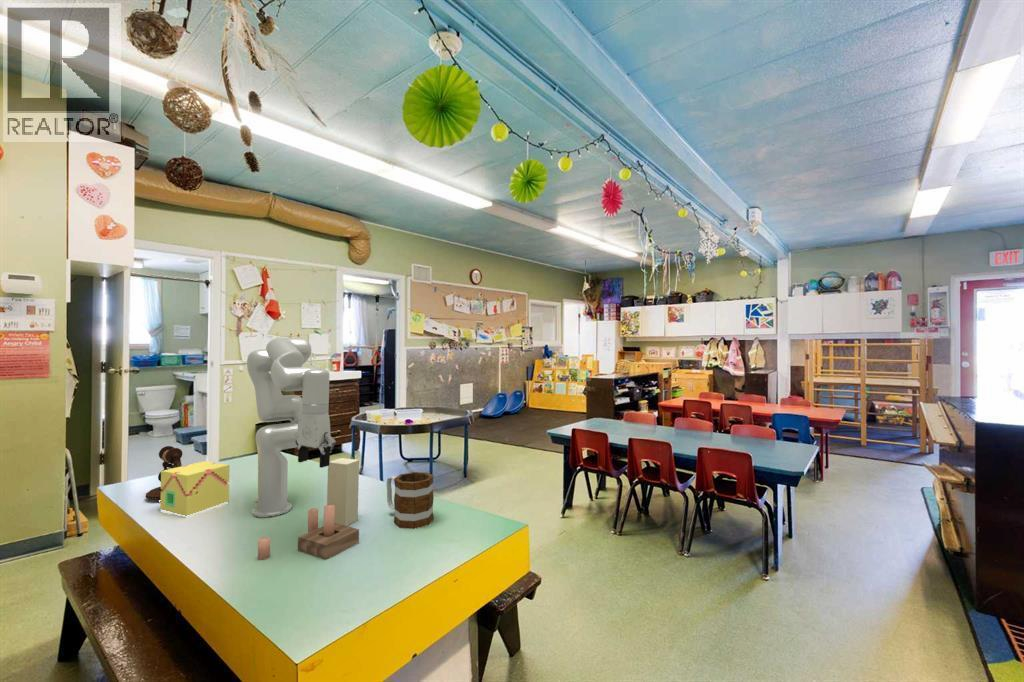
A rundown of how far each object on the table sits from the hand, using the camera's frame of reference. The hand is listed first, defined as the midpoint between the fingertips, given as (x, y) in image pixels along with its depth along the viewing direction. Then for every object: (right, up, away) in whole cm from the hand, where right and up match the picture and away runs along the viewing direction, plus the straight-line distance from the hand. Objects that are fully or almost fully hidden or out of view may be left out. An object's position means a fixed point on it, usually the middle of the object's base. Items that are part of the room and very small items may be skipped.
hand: (313, 463), depth 131 cm
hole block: (+7, -24, -4) cm, 25 cm away
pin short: (-9, -24, -11) cm, 27 cm away
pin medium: (-2, -24, +3) cm, 24 cm away
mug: (+25, -24, +17) cm, 39 cm away
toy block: (-57, -25, +27) cm, 68 cm away
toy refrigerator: (+4, -24, +14) cm, 28 cm away
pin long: (+7, -24, -4) cm, 25 cm away
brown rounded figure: (-77, -25, +39) cm, 90 cm away
